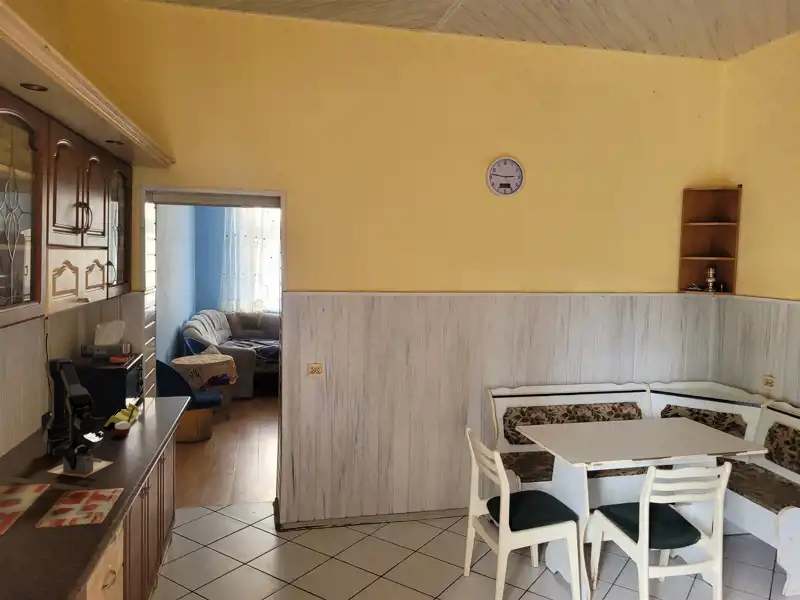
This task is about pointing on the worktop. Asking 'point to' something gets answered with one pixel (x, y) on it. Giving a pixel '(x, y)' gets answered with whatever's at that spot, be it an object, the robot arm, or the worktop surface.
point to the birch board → (96, 467)
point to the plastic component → (124, 415)
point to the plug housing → (81, 464)
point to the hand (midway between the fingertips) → (78, 467)
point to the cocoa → (123, 426)
